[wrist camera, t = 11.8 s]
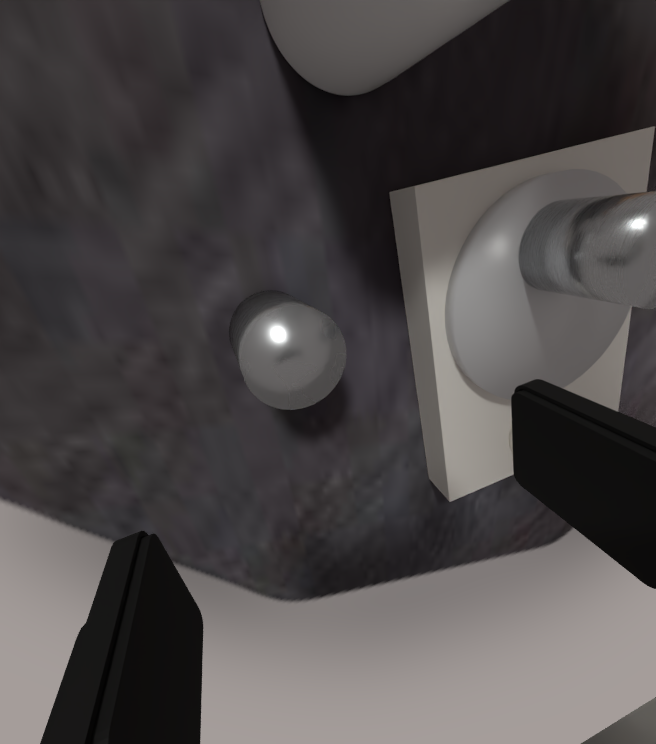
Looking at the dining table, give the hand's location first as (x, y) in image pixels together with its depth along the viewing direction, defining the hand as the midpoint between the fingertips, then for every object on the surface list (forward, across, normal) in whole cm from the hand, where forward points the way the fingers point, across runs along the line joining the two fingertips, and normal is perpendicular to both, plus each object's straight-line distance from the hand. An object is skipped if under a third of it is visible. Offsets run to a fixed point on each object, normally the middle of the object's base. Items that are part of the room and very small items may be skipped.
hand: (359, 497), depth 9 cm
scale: (+15, -17, +4) cm, 23 cm away
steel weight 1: (+15, 0, -1) cm, 15 cm away
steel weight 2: (+11, -17, -2) cm, 20 cm away
